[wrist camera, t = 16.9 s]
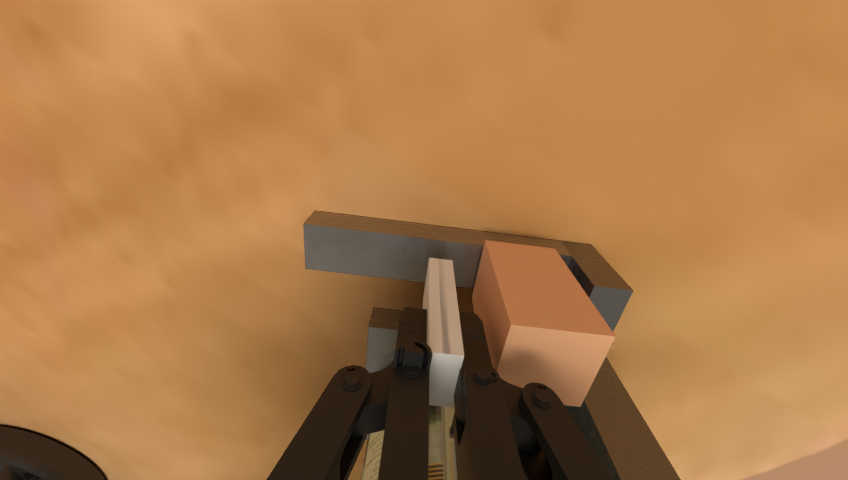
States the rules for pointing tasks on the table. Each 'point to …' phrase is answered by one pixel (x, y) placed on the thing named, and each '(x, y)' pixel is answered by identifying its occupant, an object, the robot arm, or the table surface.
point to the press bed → (597, 417)
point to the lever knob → (539, 320)
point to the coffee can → (440, 447)
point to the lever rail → (443, 254)
